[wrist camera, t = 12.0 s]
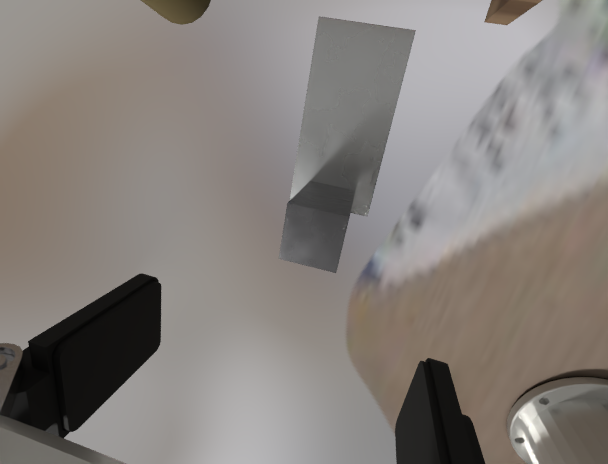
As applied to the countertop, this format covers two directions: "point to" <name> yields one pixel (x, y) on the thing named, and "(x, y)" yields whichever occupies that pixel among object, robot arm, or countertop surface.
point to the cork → (179, 9)
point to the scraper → (342, 135)
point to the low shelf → (508, 10)
